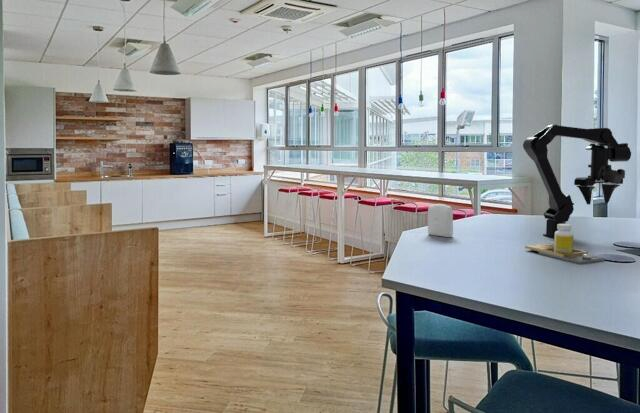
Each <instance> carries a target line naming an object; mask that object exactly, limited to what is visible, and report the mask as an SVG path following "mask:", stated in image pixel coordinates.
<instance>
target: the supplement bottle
mask: <svg viewBox="0 0 640 413" xmlns="http://www.w3.org/2000/svg"><path fill="white" fill-rule="evenodd" d="M557 229H558V231H556V232H555V235H554V237H553V238H554V239H553V241H554V242H553V244H554V252H558V253H562V254H567V253H573V249H574V247H573V246H574V232H573V231H571V230H572V224H570V223H566V224H557Z"/></svg>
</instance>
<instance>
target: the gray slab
mask: <svg viewBox="0 0 640 413" xmlns="http://www.w3.org/2000/svg"><path fill="white" fill-rule="evenodd" d="M524 248H525V249H528V250H531V251H533V252H538V254H539V255H542V256H547V257H550V258H553V259H559V260H563V261H567V262H571V263H574V264H578V265H583V264H589V263H597V262H604V261H606V258H605V257H602V256H597V255H593V254H590V253H589V251H585V250H582V249H578V248H573V253H567V254H562V253H558V252H554V243H550V242H545V243H538V244H537V243H536V244H529V245H525V246H524Z"/></svg>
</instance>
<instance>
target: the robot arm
mask: <svg viewBox="0 0 640 413" xmlns="http://www.w3.org/2000/svg"><path fill="white" fill-rule="evenodd" d="M555 137H563V138H564V137H565V138H572V139H573V138H574V139H579V140H580V139H581V140H584V142H585V141H586V142H588V143H590V144H589V145H588V146H586V148H585V150H586V151H591V155H590V156H591V157H590V164H587V165H588V166H587V168H590V174H589V175H587V177H586V176H581V177H580V176H579V177H575V179H574V181H573V185H575V186H576V188H578V189H579V191H580V193H581V194H582V196H583V199H584V200H585V203H586V205H589V206H590V205H591V201H592V196H593V195H592V193H593V191H594V189H595V188H596V186H594V185H596V184H601V188H602V189H601V190H602V194H603V200H604V203H605V204H608V203H609V202H610V199H611V198H612V195H613V192H614V191H615V190H616V189H617V188H618V187H620V186H621V184H622V185H623V184H624V179H625V178H626V177H625V175H626V171H625V169H623V168H618V169H617V170H616V169H615V170H614V169H612V164H609V161H610V162H612V163H614V162H615V163H616V162H620V163H621V162H629V161H630V159H631V157H632V151H631V149H630V148H631V147H629V144H628V143H627V142H625V143H624V142H621V143H618V141H617V140H616V138H615V137H614V135H613V131H612V130H611V129H610V128H608V127H597V128H582V127H573V126H565V125H558V124H549V125H547V126H546V127H544V128H543V129H541V130H540V131H538V132H537V133H535V134H534V135H532V136H529V137H527V138H526V139H525V140H523V144H522V147H523V149H524V151H525V153H526V154H527V155H528V157H529V158H530V159H531V161H533V162H534V164H535V166H536V169H537V171H538V174H539V175H540V179H541V180H542V182H543V185H544V187H545V189H546V192H547V194H548V206H549V207H548V208H547V210H545V211H544V212H543V217H544V219H546V227H545V230H546V231H545V233H543V234H542V236H545V237H549V238H554V235H555V232H556V231H558V229H557V224H567V223H566V222H569V220H570V216H571V215H572V214H573V212H574V210H575V208H574V205H575V203H573V201H572V196H571V195H570V194H567V193H564V192H563V191H562V189H561V186H560V184H559V182H558V180H557V176H556V175H555V173H554V171H553V168H552V166H551V163H550V160H549V157H548V155H549V154H548V151H549V150H548V145H549V144H550V143H552V141H553V140H554V139H555Z"/></svg>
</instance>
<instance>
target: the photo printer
mask: <svg viewBox="0 0 640 413" xmlns="http://www.w3.org/2000/svg"><path fill="white" fill-rule="evenodd" d="M427 208H428V209H427V234H428V235H429V236H430V235H431V236H439V237H444V238H451V237H453V235H454V211H453V208H452V207H451V206H450V205H447V204H444V203H435V204H431V205H429V206H428V207H427Z"/></svg>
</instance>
